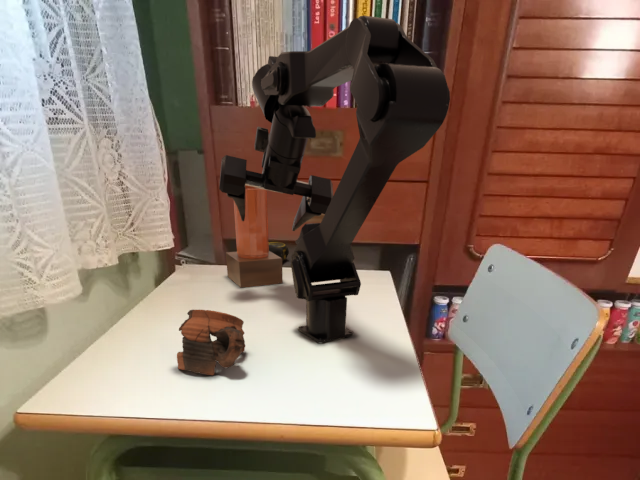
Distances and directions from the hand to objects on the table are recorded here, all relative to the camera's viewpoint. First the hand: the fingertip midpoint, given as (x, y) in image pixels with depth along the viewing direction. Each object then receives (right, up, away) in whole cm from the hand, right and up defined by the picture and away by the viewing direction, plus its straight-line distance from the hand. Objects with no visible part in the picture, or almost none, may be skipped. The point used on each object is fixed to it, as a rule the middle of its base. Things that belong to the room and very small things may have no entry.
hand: (268, 224), depth 87 cm
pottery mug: (-5, -28, -22) cm, 36 cm away
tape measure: (-2, +2, +27) cm, 27 cm away
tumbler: (-4, -2, +11) cm, 12 cm away
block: (-4, -6, +14) cm, 15 cm away
